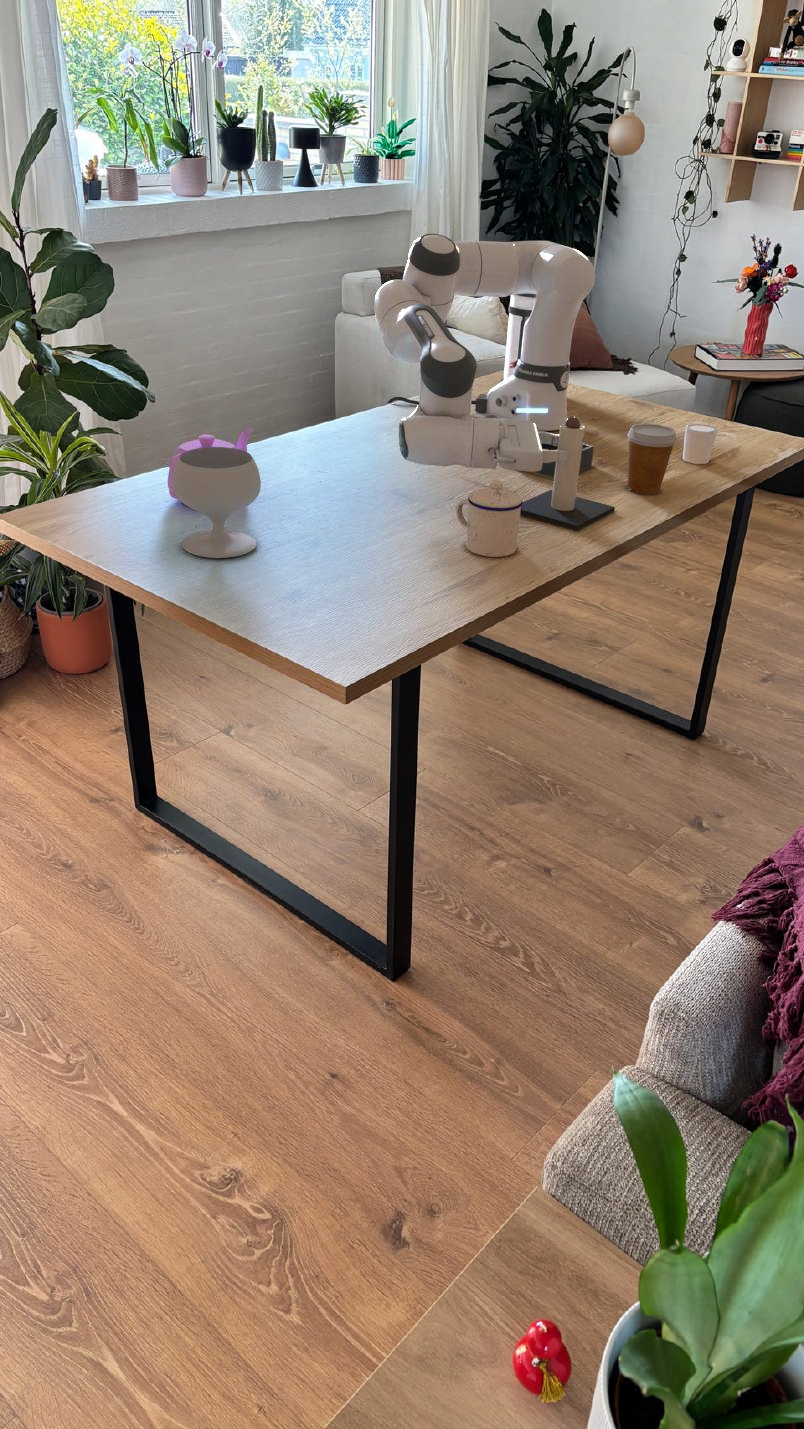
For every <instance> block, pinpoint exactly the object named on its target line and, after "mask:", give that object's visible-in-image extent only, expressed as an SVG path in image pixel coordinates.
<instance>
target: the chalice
mask: <svg viewBox="0 0 804 1429" xmlns="http://www.w3.org/2000/svg"><path fill="white" fill-rule="evenodd" d="M259 470H260V469H259V467H258V464H257V462H256V461H255V459H254V457H253V456H252V454H251V453H249V452H248V451H247V452H245V451H243V450H239V449H234V448H227V447H205V448H197V449H193V450H189V451H186V452H184V453H182V454H181V455H180V457H179V458H178V461H177V463H176V466H175V470H174V475H173V489H174V492H175V494H176V496H177V497H178V499H179V500H180V501H179V500H178V501H179V502H181V503H182V504H184V506H187V507H188V508H189V509H192V510H194V511H197V512H199V513H201V514H203V515H205V516H206V517H208V519H209V520H210V521H211V524H212V526H213V529H212V530H211V529H210V530H204V531H200V532H197V533H194V534H191V535H190V536H188V537H186V538H185V539H184V540H183V542H182V545H181V546H182V548H183V549H184V550H185V551H186V552H188V553H189V554H192V555H195V556H198V557H203V558H213V559H223V558H224V559H225V558H233V557H234V558H235V557H239V556H243V555H246V554H248V553H250V552H252V551H253V550H255V549H256V547H257V544H258V543H257V541H256V539H255V538H254V537H252V536H251V535H250V534H247V533H245V532H241V531H236V530H228V529H226V528H225V526H226V521H227V520H228V519H229V517H230V516H232V515H233V514H234V513H236V512H239V511H240V510H243V509H245V508H246V507H248V506H250V505H251V504H253V503H254V502H255V501H256V500H257V498H258V497H259V495H260V492H261V490H262V489H261V486H262V485H261V484H262V481H261V474H260V471H259Z"/></svg>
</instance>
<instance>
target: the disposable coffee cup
mask: <svg viewBox="0 0 804 1429" xmlns="http://www.w3.org/2000/svg"><path fill="white" fill-rule="evenodd" d="M626 435H627V440H628V459H627V460H628V463H627V487H628V489H630V491H629V492H632V493H635V494H638V495H647V496H652V495H657V494H659V493H660V491H661V487H662V484H663V481H664V478H665V473H666V471H667V469H668V468H667V467H668V464H669V461H670V458H671V454H672V452H673V447H674V445H675V444H676V442H678V437H677V432H676V430H675V429H673V428H672V427H669V426H665V425H661V424H655V423H637V424H633V425H632V426H631V427H630V428H629V431H628V432H627V434H626Z"/></svg>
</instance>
